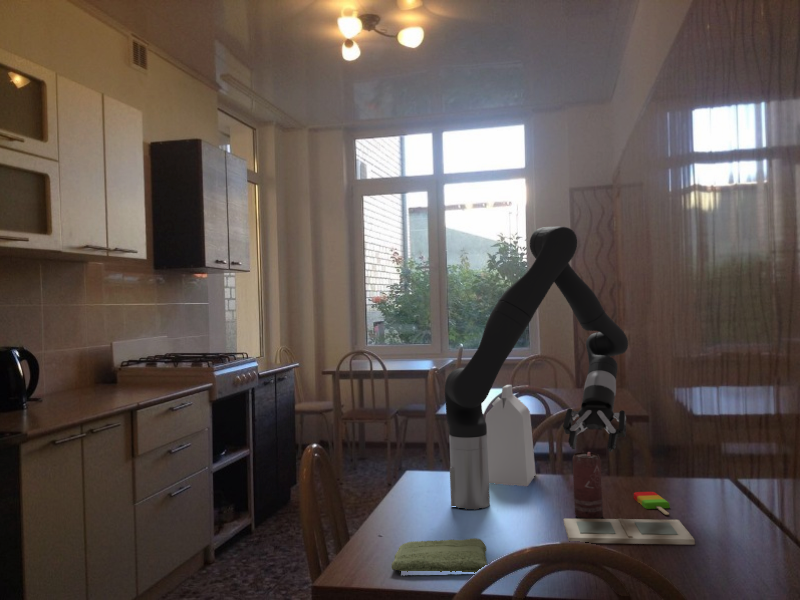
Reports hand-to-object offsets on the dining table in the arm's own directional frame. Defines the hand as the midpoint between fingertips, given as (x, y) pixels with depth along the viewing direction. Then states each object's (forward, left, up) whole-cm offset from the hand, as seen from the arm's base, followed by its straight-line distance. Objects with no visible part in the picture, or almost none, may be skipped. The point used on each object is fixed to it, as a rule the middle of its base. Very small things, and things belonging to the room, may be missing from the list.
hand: (591, 448), depth 152 cm
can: (-2, -5, -14) cm, 15 cm away
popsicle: (+14, +3, -15) cm, 21 cm away
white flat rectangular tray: (+4, -16, -14) cm, 22 cm away
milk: (-19, +27, -14) cm, 36 cm away
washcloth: (-33, -34, -15) cm, 49 cm away
